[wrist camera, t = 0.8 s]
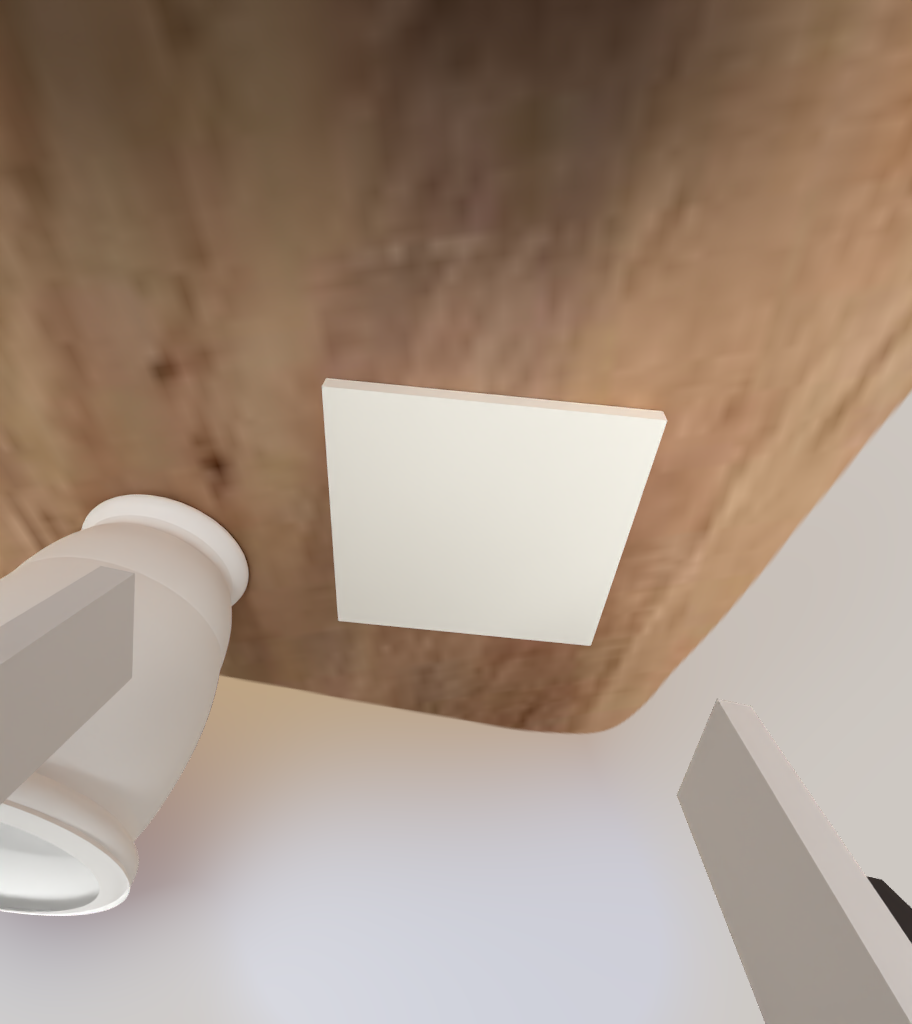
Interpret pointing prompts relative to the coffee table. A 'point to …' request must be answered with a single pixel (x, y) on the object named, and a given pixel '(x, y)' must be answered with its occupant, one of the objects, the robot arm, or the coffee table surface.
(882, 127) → the coffee table surface
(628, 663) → the coffee table surface
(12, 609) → the jar
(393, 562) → the ceramic tile
